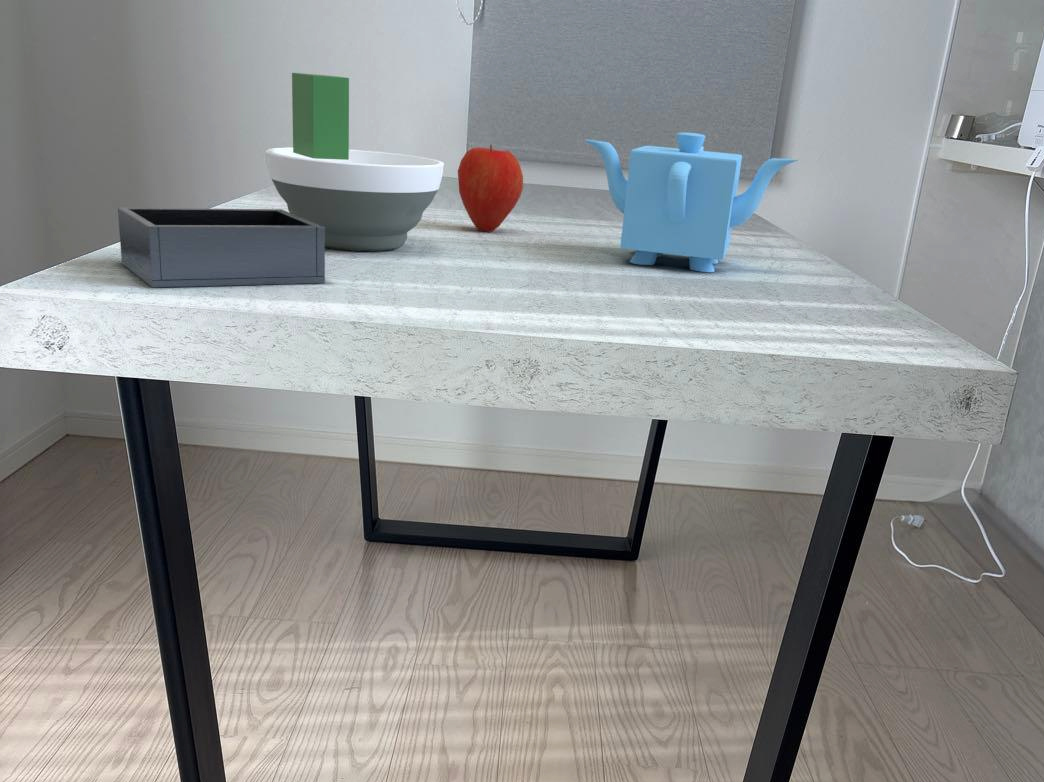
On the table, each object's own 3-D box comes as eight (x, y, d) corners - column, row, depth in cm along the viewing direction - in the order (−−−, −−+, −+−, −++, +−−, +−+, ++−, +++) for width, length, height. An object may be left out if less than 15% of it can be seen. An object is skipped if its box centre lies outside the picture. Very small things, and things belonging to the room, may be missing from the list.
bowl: (447, 263, 114) (451, 170, 110) (260, 253, 111) (258, 156, 107) (434, 236, 132) (437, 155, 128) (273, 227, 128) (272, 143, 124)
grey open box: (152, 287, 90) (148, 226, 88) (121, 263, 99) (117, 207, 97) (325, 283, 98) (325, 226, 96) (282, 261, 107) (281, 209, 105)
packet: (348, 159, 112) (349, 77, 109) (312, 158, 110) (312, 75, 107) (327, 154, 117) (327, 75, 113) (292, 152, 115) (291, 72, 111)
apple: (530, 232, 142) (537, 147, 138) (497, 237, 135) (503, 148, 131) (477, 224, 146) (482, 141, 142) (442, 228, 139) (446, 141, 135)
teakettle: (664, 278, 116) (682, 136, 111) (568, 249, 131) (579, 122, 125) (785, 274, 126) (808, 144, 121) (684, 248, 140) (700, 130, 135)
